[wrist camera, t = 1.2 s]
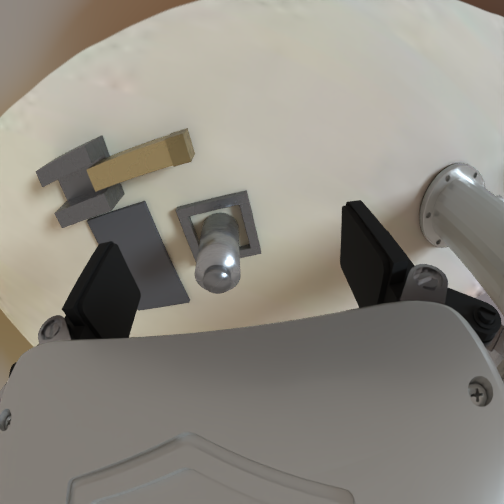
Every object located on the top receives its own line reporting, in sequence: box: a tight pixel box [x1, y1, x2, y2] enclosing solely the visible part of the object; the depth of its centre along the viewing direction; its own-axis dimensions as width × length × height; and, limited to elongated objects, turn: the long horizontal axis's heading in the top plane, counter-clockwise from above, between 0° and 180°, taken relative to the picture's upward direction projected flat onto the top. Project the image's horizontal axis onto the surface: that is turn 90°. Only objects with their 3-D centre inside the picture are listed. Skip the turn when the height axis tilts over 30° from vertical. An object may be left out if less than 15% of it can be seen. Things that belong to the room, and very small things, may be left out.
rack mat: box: [87, 201, 190, 310], centre depth 33 cm, size 8×15×1 cm, turn 12°
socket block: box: [36, 136, 124, 228], centre depth 24 cm, size 7×7×4 cm
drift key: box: [87, 128, 195, 192], centre depth 23 cm, size 10×3×3 cm, turn 102°
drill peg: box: [195, 213, 240, 294], centre depth 27 cm, size 4×4×9 cm
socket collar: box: [176, 191, 261, 262], centre depth 31 cm, size 8×8×1 cm
